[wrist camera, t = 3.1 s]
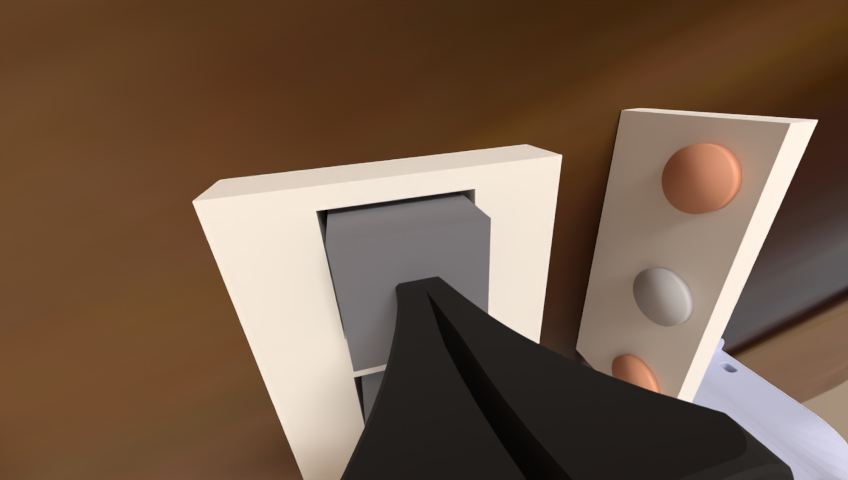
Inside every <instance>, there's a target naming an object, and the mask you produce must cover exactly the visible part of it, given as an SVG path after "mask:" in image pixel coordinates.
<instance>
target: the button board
mask: <svg viewBox="0 0 848 480" xmlns="http://www.w3.org/2000/svg"><path fill="white" fill-rule="evenodd" d="M561 160H562V155H560V154H557V153H553V152H550V151H547V150H543V149H540V148H537V147H533V146H530V145H527V144H525V145H516V146H508V147H499V148H490V149H482V150H473V151H464V152H456V153H447V154H439V155H430V156H421V157H413V158H404V159H395V160H387V161H378V162H369V163H361V164H352V165H344V166H335V167H326V168H318V169H309V170H300V171H292V172H283V173H274V174H266V175H257V176H248V177H240V178H231V179H223V180H219V181H218V182H216V183H215V184H214V185H213V186H211V187H210V188H209V189H208V190H206V191H205V192H204V193H202V194H201V195H200V196H199V197H197V198H196V199H195V200H193V201H192V202H193V205H194V207H195V210H196V212H197V215H198V217H199V220H200V222H201V225H202V227H203V230H204V232H205V235H206V237H207V240H208V242H209V245H210V247H211V250H212V252H213V255H214V257H215V260H216V262H217V264H218V267H219V269H220V272H221V274H222V277H223V279H224V282H225V284H226V287H227V289H228V292H229V294H230V297H231V299H232V302H233V304H234V307H235V309H236V312H237V314H238V317H239V319H240V322H241V324H242V327H243V329H244V332H245V334H246V337H247V339H248V342H249V344H250V347H251V349H252V352H253V354H254V357H255V359H256V362H257V364H258V367H259V369H260V372H261V374H262V377H263V379H264V382H265V384H266V387H267V389H268V392H269V394H270V397H271V399H272V402H273V404H274V407H275V409H276V412H277V414H278V417H279V419H280V421H281V424H282V426H283V429H284V431H285V434H286V436H287V439H288V441H289V444H290V446H291V449H292V451H293V454H294V456H295V459H296V461H297V464H298V466H299V469H300V471H301V474H302V476H303V479H304V480H340V479H341V477H342V475H343V473H344V471H345V469H346V466H347V464H348V462H349V460H350V458H351V456H352V453H353V451H354V449H355V447H356V445H357V443H358V441H359V438H360V436H361V434H362V432H363V430H364V427H365V425H366V424H365V413H364V401H363V389H362V384H361V380H360V376H362V375H367V374H371V373H375V372H379V371H384V370H385V369H386V366H387V364H385V365H381V366H377V367H373V368H368V369H364V370H360V371H355V372H354V371H353V366H352V362H351V357H350V353H349V348H348V344H347V339H346V335H345V330H344V326H343V321H342V317H341V312H340V308H339V303H338V299H337V295H336V290H335V286H334V281H333V277H332V272H331V268H330V263H329V259H328V254H327V250H326V245H325V243H326V230H327V221H326V216H325V212H324V210H327V209H334V208H341V207H348V206H355V205H363V204H370V203H377V202H384V201H391V200H398V199H406V198H413V197H420V196H427V195H434V194H442V193H449V192H456V191H459V192H461V193H462V194H463V195H464V196H465V197H466V198H468V199H469V200H470V201H471V202H472V203H473V204H475V205H476V206H477V207H478V208H479V209H480V210H482V211H483V212H484V213H485V214H486V215H488V216H489V217H490V218H491V233H490V267H489V301H488V314H489V315H490V316H492V317H493V318H495V319H496V320H498V321H500V322H501V323H503V324H504V325H506V326H508V327H509V328H511V329H512V330H514V331H516V332H518V333H519V334H521V335H523V336H525V337H527V338H528V339H530V340H532V341H534V342H536V343H538V344H539V340H540V331H541V323H542V315H543V307H544V299H545V291H546V283H547V274H548V266H549V258H550V250H551V242H552V234H553V226H554V217H555V209H556V201H557V193H558V185H559V177H560V169H561Z"/></svg>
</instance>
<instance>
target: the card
mask: <svg viewBox="0 0 848 480" xmlns="http://www.w3.org/2000/svg"><path fill="white" fill-rule="evenodd" d="M817 121H818V120H811V119H796V118H781V117H766V116H751V115H736V114H721V113H706V112H691V111H676V110H661V109H646V108H637V109H627V110H621V116H620V121H619V126H618V131H617V137H616V142H615V147H614V152H613V158H612V163H611V168H610V173H609V178H608V184H607V189H606V194H605V199H604V205H603V210H602V215H601V220H600V225H599V231H598V236H597V241H596V246H595V252H594V257H593V262H592V267H591V273H590V278H589V283H588V288H587V293H586V299H585V304H584V309H583V314H582V320H581V325H580V330H579V335H578V340H577V346H576V350H577V351H578V352H579V353H580V354H581V355H582V356H583V357H584V358H585V360H586V361H587V362H588V363H589V364H590V365H591V366H592V367H593V368H594V369H595V370H597V371H599V372H602V373H604V374H607V375H610V376H612V377H615V378H617V379H620V380H623V381H626V382H629V383H631V384H634V385H637V386H640V387H643V388H645V389H648V390H651V391H654V392H657V393H661V394H664V395H667V396H671V397H674V398H677V399H681V400H684V401H687V402H690V403H692V401H693V399H694V397H695V394H696V392H697V390H698V388H699V385H700V383H701V381H702V379H703V376H704V374H705V372H706V370H707V367H708V365H709V363H710V361H711V359H712V356H713V354H714V352H715V350H716V347H717V345H718V343H719V341H720V338H721V336H722V334H723V332H724V329H725V327H726V325H727V323H728V320H729V318H730V316H731V314H732V312H733V309H734V307H735V305H736V303H737V300H738V298H739V296H740V294H741V291H742V289H743V287H744V285H745V282H746V280H747V278H748V276H749V273H750V271H751V269H752V267H753V265H754V262H755V260H756V258H757V256H758V253H759V251H760V249H761V247H762V244H763V242H764V240H765V238H766V235H767V233H768V231H769V229H770V226H771V224H772V222H773V220H774V218H775V215H776V213H777V211H778V209H779V206H780V204H781V202H782V200H783V197H784V195H785V193H786V191H787V188H788V186H789V184H790V182H791V179H792V177H793V175H794V173H795V171H796V168H797V166H798V164H799V162H800V159H801V157H802V155H803V153H804V150H805V148H806V146H807V144H808V141H809V139H810V137H811V135H812V132H813V130H814V128H815V126H816V124H817Z"/></svg>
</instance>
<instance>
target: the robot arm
mask: <svg viewBox="0 0 848 480" xmlns="http://www.w3.org/2000/svg"><path fill="white" fill-rule="evenodd" d="M395 289H396V297H397V317H396V325H395V331H394V337H393V341H392V346H391V350H390V355H389V359H388V362H387V366H386V369H385V373H384V376H383V379H382V382H381V385H380V388H379V391H378V394H377V396H376V399H375V402H374V404H373V407H372V410H371V413H370V415H369V418H368V420H367V422H366V425H365V427H364V430H363V432H362V434H361V436H360V438H359V441H358V443H357V445H356V447H355V449H354V451H353V453H352V456H351V458H350V460H349V462H348V464H347V466H346V469H345V471H344V473H343V475H342V477H341V479H340V480H848V444H847V443H846V442H845V441H844V439H843V438H842V437H841V436H840V435H839V434H838V433H837V432H836V431H835V430H834V429H833V428H832V427H831V426H830V425H829V424H827V423H826V422H825V421H824V420H822V419H821V418H820V417H818V416H817V415H816V414H814V413H813V412H811V411H810V410H808V409H807V408H805V407H804V406H803V405H801V404H800V403H798V402H797V401H795V400H794V399H792V398H791V397H789V396H788V395H786V394H785V393H784V392H782V391H781V390H779V389H778V388H776V387H775V386H773V385H772V384H770V383H769V382H767V381H766V380H764V379H763V378H762V377H760V376H759V375H757V374H756V373H754V372H753V371H751V370H750V369H748V368H747V367H745V366H744V365H743V364H741V363H740V362H738V361H737V360H735V359H734V358H732V357H731V356H729V355H728V354H726V353H725V352H723V351H722V350H721V349H722V347H723V345H724V340H723V339H722V338H720V341H719V343H718V345H717V347H716V350H715V352H714V354H713V356H712V359H711V361H710V363H709V365H708V367H707V370H706V372H705V374H704V376H703V379H702V381H701V383H700V385H699V388H698V390H697V392H696V394H695V397H694V399H693V401H692V403H690V402H687V401H684V400H681V399H677V398H674V397H671V396H667V395H664V394H661V393H657V392H654V391H651V390H648V389H645V388H643V387H640V386H637V385H634V384H631V383H629V382H626V381H623V380H620V379H617V378H615V377H612V376H610V375H607V374H604V373H602V372H599V371H597V370H594V369H592V368H589V367H587V366H585V365H583V364H580V363H578V362H576V361H573V360H571V359H569V358H567V357H564V356H562V355H560V354H558V353H556V352H554V351H552V350H549V349H547V348H546V347H544V346H542V345H540V344H538V343H536V342H534V341H532V340H530V339H528V338H527V337H525V336H523V335H521V334H519V333H518V332H516V331H514V330H512V329H511V328H509V327H508V326H506V325H504V324H503V323H501V322H500V321H498V320H496V319H495V318H493V317H492V316H490V315H489V314H487V313H486V312H485V311H483V310H482V309H480V308H479V307H478V306H476V305H475V304H474V303H472V302H471V301H470V300H468V299H467V298H466V297H464V296H463V295H462V294H460V293H459V292H458V291H457V290H455V289H454V288H453V287H452V286H450V285H449V284H448V283H447V282H445V281H444V280H443V279H441V278H440V277H439V276H436V277H430V278H425V279H420V280H415V281H409V282H404V283H399V284H398V285H397V286H396V287H395Z"/></svg>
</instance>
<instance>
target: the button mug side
mask: <svg viewBox="0 0 848 480" xmlns="http://www.w3.org/2000/svg"><path fill="white" fill-rule="evenodd" d="M490 233H491V218H490V217H489V216H488V215H486V214H485V213H484V212H483V211H482V210H480V209H479V208H478V207H477V206H476V205H475V204H473V203H472V202H471V201H470V200H469V199H468V198H466V197H465V196H464V195H463V194H462V193H461V192H459V191H456V192H449V193H442V194H434V195H427V196H420V197H413V198H406V199H398V200H391V201H384V202H377V203H370V204H363V205H355V206H348V207H341V208H334V209H328V217H327V230H326V243H325V245H326V250H327V254H328V259H329V263H330V268H331V272H332V277H333V281H334V286H335V290H336V295H337V299H338V303H339V308H340V312H341V317H342V321H343V326H344V330H345V335H346V339H347V344H348V348H349V353H350V357H351V362H352V366H353V371H354V372H355V371H360V370H364V369H368V368H373V367H377V366H381V365H385V364H387V362H388V359H389V355H390V350H391V346H392V341H393V337H394V331H395V325H396V317H397V297H396V289H395V287H396V286H397V285H398V284H399V283H404V282H409V281H415V280H420V279H425V278H430V277H436V276H439V277H440V278H441V279H443V280H444V281H445V282H447V283H448V284H449V285H450V286H452V287H453V288H454V289H455V290H457V291H458V292H459V293H460V294H462V295H463V296H464V297H466V298H467V299H468V300H470V301H471V302H472V303H474V304H475V305H476V306H478V307H479V308H480V309H482V310H483V311H485V312H486V313H487V314H488V301H489V267H490Z"/></svg>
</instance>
